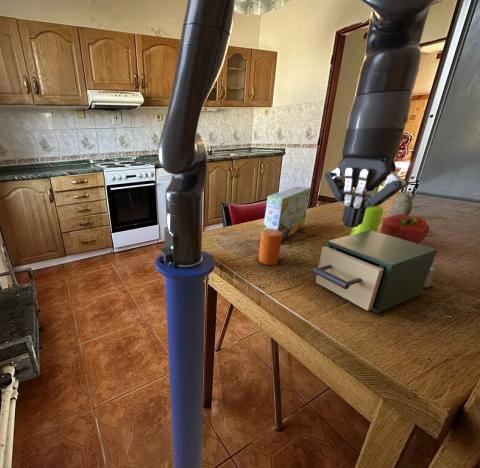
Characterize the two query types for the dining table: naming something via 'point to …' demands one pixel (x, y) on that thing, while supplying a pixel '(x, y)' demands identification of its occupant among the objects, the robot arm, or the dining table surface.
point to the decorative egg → (402, 205)
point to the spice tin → (270, 246)
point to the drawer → (350, 276)
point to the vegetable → (405, 228)
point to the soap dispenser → (370, 218)
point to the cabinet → (391, 264)
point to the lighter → (429, 277)
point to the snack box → (287, 210)
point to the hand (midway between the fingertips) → (351, 226)
